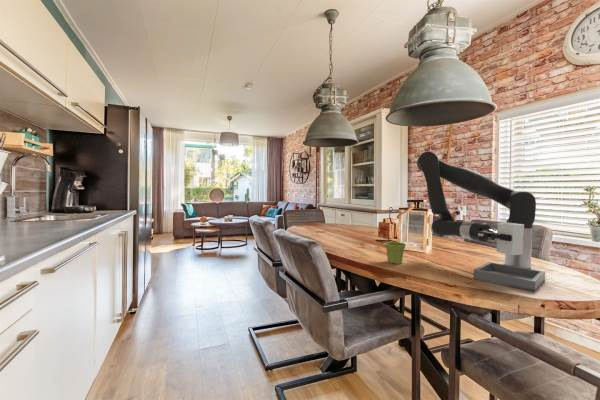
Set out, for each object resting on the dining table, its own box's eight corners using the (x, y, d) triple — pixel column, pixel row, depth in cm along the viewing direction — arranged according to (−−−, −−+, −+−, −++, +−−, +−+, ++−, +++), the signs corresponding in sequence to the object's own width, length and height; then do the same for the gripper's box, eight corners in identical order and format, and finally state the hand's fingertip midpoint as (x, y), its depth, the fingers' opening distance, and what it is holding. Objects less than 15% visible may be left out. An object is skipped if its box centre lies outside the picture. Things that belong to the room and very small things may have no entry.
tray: (488, 270, 118) (488, 262, 118) (544, 281, 105) (545, 271, 105) (473, 278, 107) (473, 269, 106) (534, 292, 93) (535, 281, 93)
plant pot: (391, 265, 124) (392, 246, 124) (380, 260, 133) (380, 242, 133) (410, 264, 127) (410, 245, 126) (397, 259, 136) (397, 241, 136)
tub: (506, 251, 109) (508, 222, 109) (522, 254, 104) (524, 224, 103) (496, 251, 107) (498, 222, 107) (511, 255, 102) (513, 224, 101)
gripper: (462, 222, 116) (503, 228, 100) (487, 221, 121) (531, 227, 105) (461, 240, 117) (502, 249, 101) (487, 239, 121) (530, 247, 105)
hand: (517, 238), depth 103 cm, fingers closed on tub, 5 cm apart
